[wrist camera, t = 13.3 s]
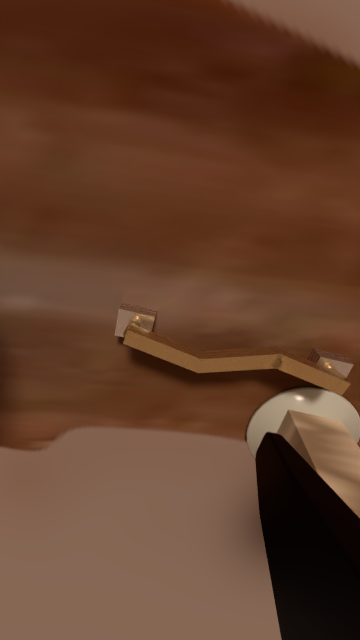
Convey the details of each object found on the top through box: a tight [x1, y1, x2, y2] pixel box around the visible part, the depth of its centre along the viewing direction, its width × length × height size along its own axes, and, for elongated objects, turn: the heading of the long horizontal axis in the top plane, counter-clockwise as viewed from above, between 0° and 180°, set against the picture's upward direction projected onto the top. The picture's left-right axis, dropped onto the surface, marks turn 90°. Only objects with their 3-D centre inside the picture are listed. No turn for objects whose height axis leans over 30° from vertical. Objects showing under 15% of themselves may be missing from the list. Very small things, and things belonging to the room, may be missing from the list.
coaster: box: [246, 387, 360, 458], centre depth 23 cm, size 9×9×1 cm
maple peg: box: [277, 409, 360, 518], centre depth 17 cm, size 4×4×12 cm
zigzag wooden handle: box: [115, 303, 353, 395], centre depth 19 cm, size 16×3×3 cm, turn 76°
